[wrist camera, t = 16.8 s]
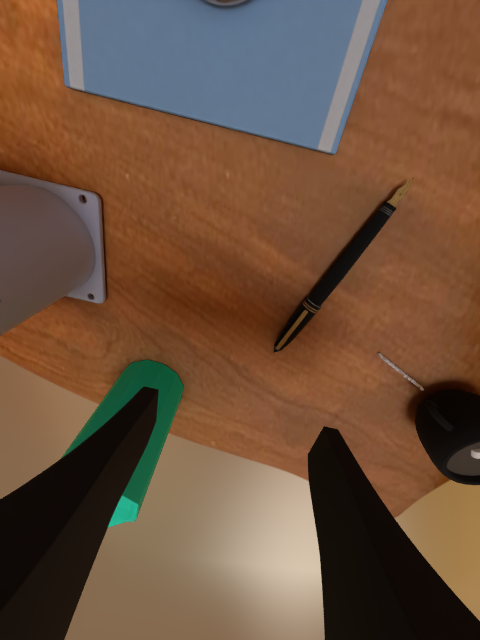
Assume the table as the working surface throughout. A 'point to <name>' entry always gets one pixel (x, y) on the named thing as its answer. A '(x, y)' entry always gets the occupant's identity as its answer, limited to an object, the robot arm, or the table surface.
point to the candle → (167, 406)
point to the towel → (226, 61)
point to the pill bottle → (225, 2)
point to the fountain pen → (338, 270)
